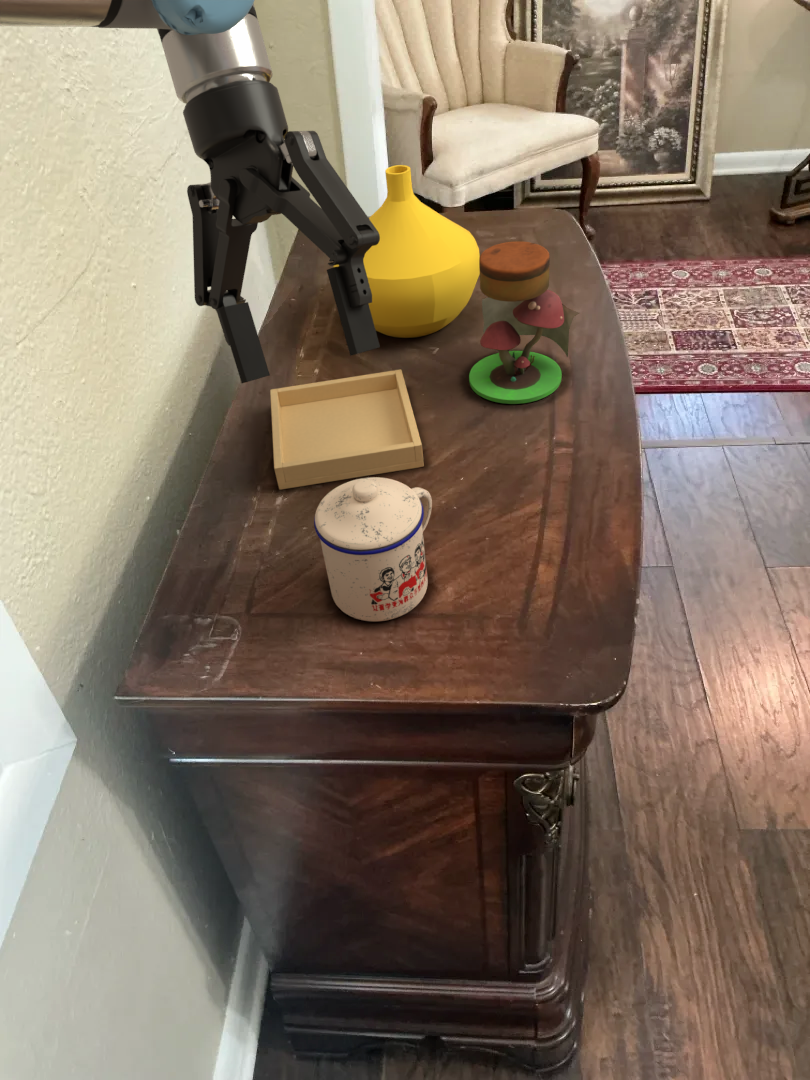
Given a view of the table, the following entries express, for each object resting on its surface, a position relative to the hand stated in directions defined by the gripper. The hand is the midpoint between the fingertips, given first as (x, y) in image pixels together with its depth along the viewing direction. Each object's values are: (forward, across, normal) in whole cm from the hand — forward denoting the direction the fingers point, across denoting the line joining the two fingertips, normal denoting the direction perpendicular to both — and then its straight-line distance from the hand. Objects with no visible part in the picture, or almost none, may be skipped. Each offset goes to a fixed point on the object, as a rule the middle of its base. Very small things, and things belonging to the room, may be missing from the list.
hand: (307, 366), depth 71 cm
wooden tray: (+9, +15, -16) cm, 24 cm away
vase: (-1, +21, -40) cm, 45 cm away
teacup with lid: (+20, 0, -2) cm, 20 cm away
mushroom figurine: (+8, +4, -35) cm, 36 cm away
